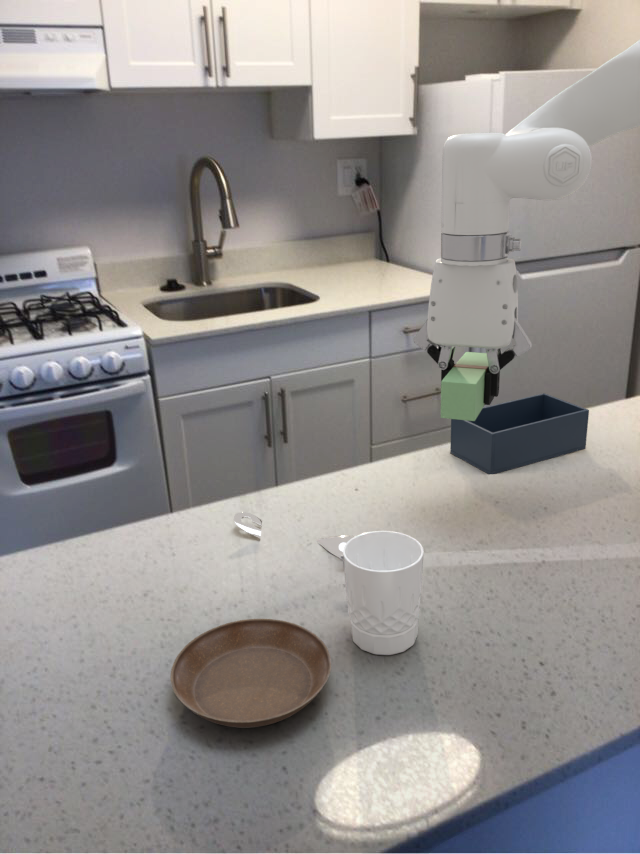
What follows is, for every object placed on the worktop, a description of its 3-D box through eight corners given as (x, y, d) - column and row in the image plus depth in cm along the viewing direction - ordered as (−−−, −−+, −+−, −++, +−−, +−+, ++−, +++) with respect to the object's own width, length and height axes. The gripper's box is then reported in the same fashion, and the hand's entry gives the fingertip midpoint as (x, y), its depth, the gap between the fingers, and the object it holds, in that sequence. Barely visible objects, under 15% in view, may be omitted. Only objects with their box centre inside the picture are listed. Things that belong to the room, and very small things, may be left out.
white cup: (331, 643, 77) (327, 557, 73) (370, 604, 83) (368, 523, 79) (400, 669, 72) (399, 580, 69) (435, 626, 78) (437, 542, 75)
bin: (541, 429, 129) (544, 392, 126) (585, 448, 120) (589, 409, 118) (450, 453, 121) (451, 414, 118) (490, 475, 112) (492, 434, 110)
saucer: (265, 620, 81) (263, 599, 80) (365, 687, 70) (364, 663, 69) (143, 688, 71) (139, 664, 70) (237, 775, 61) (234, 749, 60)
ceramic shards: (223, 507, 97) (246, 493, 101) (224, 531, 99) (247, 516, 102) (357, 555, 87) (377, 537, 91) (356, 581, 89) (375, 563, 92)
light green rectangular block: (495, 387, 98) (497, 353, 96) (475, 421, 87) (476, 383, 85) (464, 385, 99) (465, 351, 98) (440, 418, 88) (440, 380, 87)
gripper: (554, 244, 86) (543, 396, 93) (412, 243, 93) (412, 385, 99) (545, 254, 80) (535, 416, 87) (394, 252, 86) (394, 403, 93)
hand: (469, 398), depth 93 cm, fingers closed on light green rectangular block, 4 cm apart
